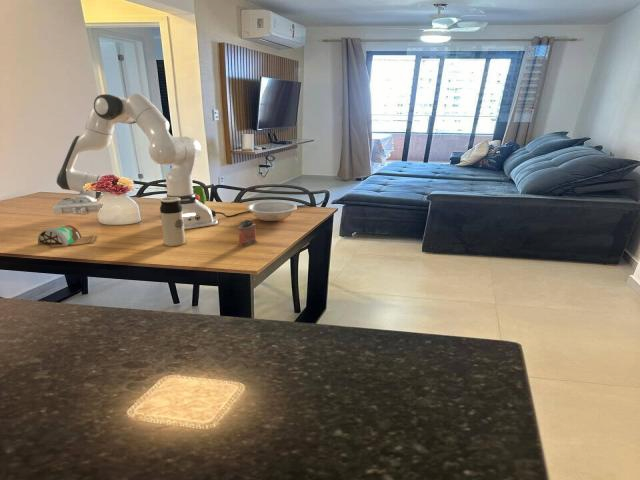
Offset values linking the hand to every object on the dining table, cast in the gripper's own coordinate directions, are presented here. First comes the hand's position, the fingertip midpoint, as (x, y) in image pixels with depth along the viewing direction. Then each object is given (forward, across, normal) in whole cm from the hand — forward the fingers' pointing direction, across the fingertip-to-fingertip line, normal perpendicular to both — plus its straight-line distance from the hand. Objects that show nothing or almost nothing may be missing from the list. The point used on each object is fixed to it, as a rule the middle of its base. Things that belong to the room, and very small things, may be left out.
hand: (77, 212), depth 164 cm
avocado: (-24, -52, -8) cm, 58 cm away
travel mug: (+33, -37, -8) cm, 50 cm away
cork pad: (+18, 0, -8) cm, 19 cm away
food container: (+12, +2, -4) cm, 13 cm away
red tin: (+43, -64, -8) cm, 77 cm away
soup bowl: (+12, -83, -8) cm, 84 cm away
